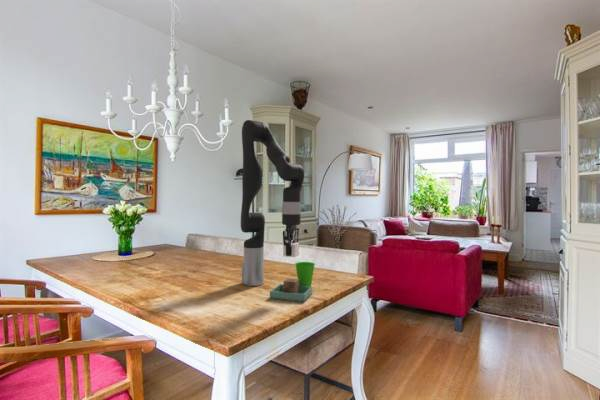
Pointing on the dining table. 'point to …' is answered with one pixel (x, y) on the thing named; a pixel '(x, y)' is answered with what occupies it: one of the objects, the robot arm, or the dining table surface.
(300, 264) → the cup
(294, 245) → the cream box
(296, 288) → the walnut block
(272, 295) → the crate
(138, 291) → the dining table surface
